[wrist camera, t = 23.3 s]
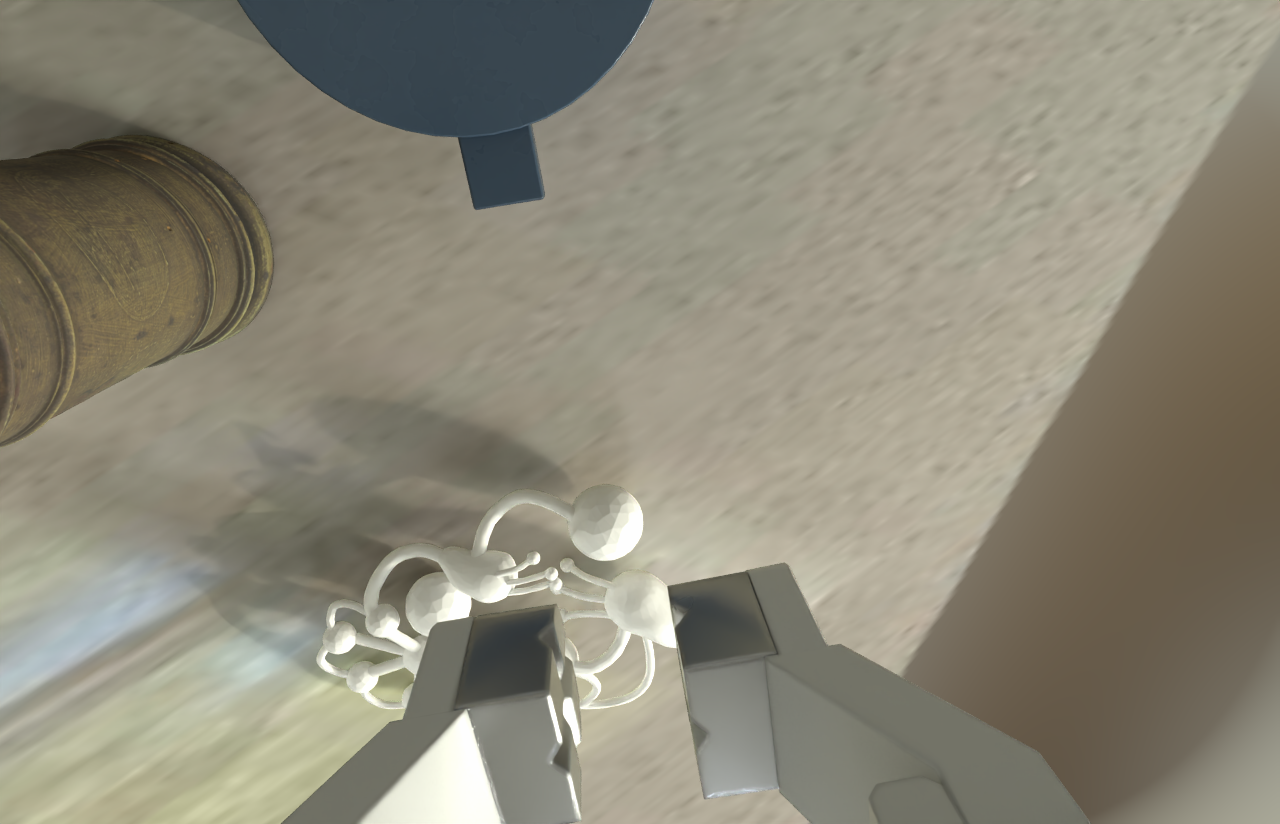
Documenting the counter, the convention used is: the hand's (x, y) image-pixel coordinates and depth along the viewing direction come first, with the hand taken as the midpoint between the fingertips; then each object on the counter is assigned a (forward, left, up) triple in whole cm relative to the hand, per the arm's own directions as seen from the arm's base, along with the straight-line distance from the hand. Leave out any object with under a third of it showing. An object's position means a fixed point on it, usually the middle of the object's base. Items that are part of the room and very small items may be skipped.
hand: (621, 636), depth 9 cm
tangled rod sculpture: (-7, -18, -27) cm, 34 cm away
